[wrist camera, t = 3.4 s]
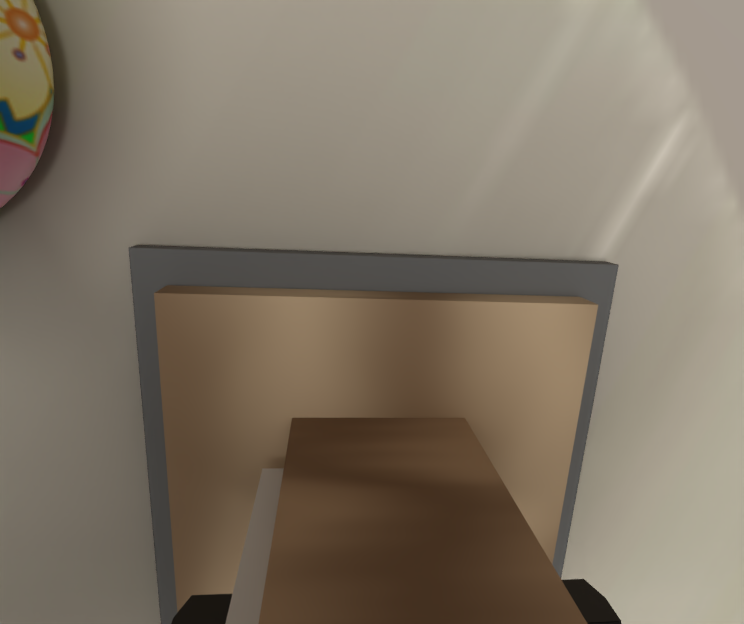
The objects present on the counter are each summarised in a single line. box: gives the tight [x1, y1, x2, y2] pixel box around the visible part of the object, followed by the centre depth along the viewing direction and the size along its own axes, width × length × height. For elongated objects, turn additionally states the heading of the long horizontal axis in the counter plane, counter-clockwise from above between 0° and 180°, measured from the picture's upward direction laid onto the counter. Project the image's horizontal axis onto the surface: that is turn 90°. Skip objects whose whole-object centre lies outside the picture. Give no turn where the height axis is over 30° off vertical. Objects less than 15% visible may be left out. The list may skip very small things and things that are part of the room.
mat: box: [129, 245, 618, 624], centre depth 15 cm, size 14×14×1 cm
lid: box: [154, 285, 598, 624], centre depth 11 cm, size 12×12×8 cm
